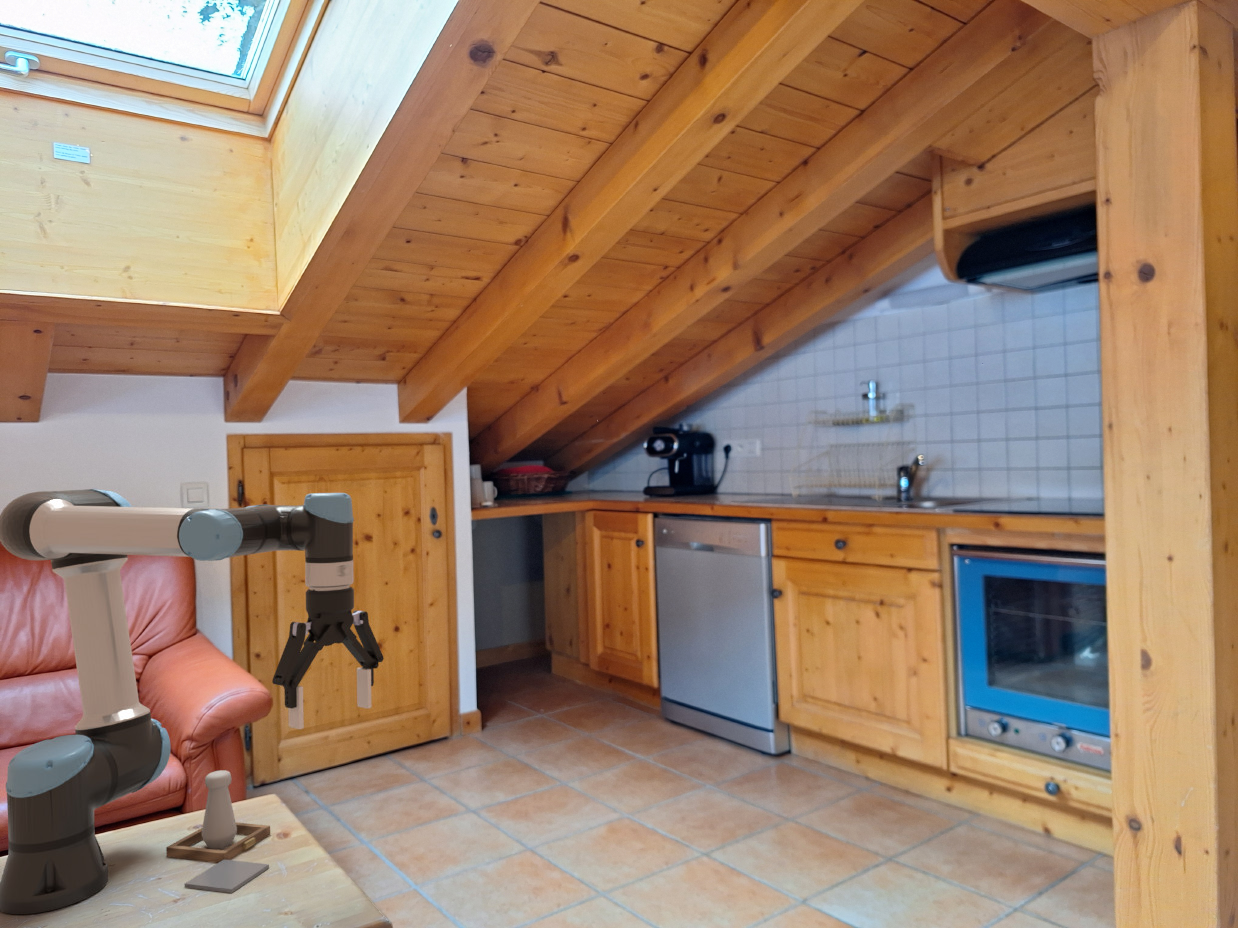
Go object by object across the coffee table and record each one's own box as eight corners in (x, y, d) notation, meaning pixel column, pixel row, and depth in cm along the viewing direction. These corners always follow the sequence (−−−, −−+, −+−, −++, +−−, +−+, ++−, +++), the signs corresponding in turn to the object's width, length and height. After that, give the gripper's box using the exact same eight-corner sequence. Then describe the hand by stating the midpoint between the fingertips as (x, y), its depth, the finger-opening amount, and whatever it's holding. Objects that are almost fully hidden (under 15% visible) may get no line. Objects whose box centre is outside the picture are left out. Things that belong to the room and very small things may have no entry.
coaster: (184, 887, 142) (184, 883, 142) (224, 862, 151) (224, 859, 151) (231, 892, 139) (231, 888, 139) (268, 867, 148) (268, 864, 148)
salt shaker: (194, 851, 156) (192, 777, 156) (214, 837, 161) (213, 766, 161) (225, 852, 155) (223, 778, 155) (244, 838, 160) (242, 767, 160)
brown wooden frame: (166, 856, 154) (166, 847, 154) (215, 828, 165) (215, 820, 165) (227, 862, 150) (226, 853, 150) (273, 834, 162) (272, 825, 162)
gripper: (277, 598, 132) (279, 740, 132) (403, 579, 153) (404, 702, 153) (247, 595, 136) (249, 733, 136) (373, 577, 157) (375, 696, 157)
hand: (331, 717), depth 144 cm, fingers open, 13 cm apart
